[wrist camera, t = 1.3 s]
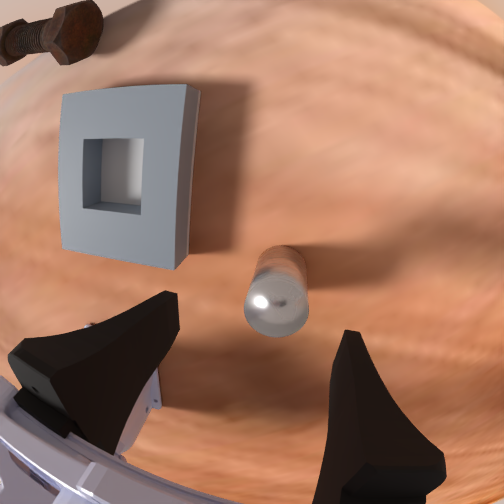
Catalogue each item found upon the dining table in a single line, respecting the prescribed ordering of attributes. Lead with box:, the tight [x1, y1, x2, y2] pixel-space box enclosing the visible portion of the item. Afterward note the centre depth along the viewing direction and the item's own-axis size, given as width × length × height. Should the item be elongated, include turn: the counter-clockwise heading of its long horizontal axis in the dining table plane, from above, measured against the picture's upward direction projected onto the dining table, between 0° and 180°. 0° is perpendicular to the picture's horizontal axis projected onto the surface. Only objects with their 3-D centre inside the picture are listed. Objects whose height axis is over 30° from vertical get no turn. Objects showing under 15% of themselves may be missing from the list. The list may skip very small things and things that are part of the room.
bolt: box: [0, 0, 103, 66], centre depth 16 cm, size 6×5×15 cm
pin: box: [244, 245, 309, 337], centre depth 20 cm, size 4×4×6 cm
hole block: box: [58, 84, 201, 270], centre depth 20 cm, size 12×10×3 cm
